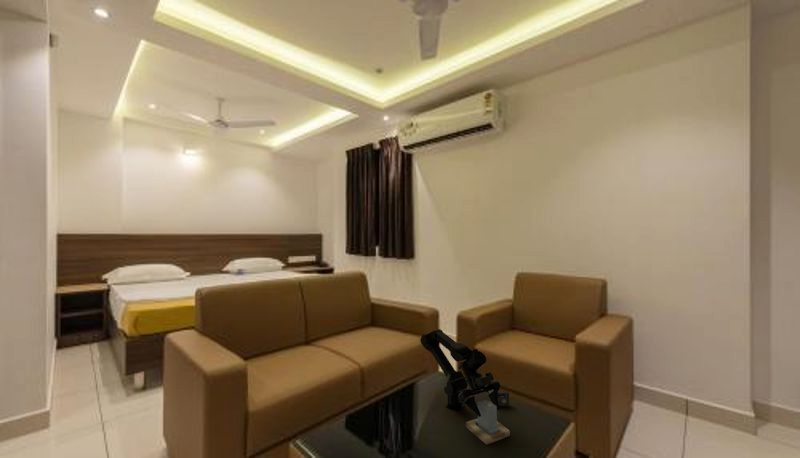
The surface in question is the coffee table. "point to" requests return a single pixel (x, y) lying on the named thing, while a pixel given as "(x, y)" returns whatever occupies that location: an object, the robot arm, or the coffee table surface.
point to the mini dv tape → (503, 399)
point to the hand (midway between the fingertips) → (489, 413)
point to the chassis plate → (484, 436)
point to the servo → (487, 417)
